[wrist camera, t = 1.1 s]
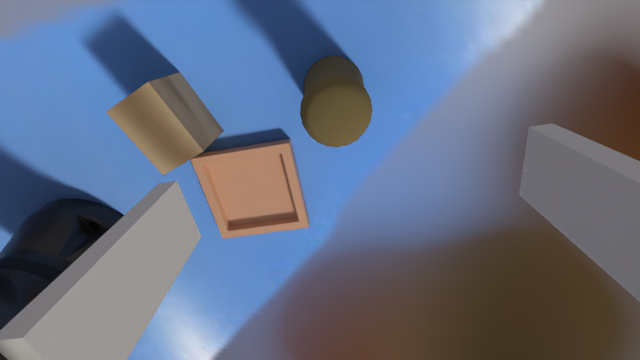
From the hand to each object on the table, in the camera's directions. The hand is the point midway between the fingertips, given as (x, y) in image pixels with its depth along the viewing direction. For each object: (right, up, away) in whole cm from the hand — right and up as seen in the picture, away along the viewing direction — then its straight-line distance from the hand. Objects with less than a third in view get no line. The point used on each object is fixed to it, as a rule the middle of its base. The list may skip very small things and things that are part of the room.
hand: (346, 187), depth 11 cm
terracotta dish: (-9, -1, +24) cm, 26 cm away
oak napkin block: (-15, +7, +20) cm, 26 cm away
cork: (0, +10, +19) cm, 21 cm away
